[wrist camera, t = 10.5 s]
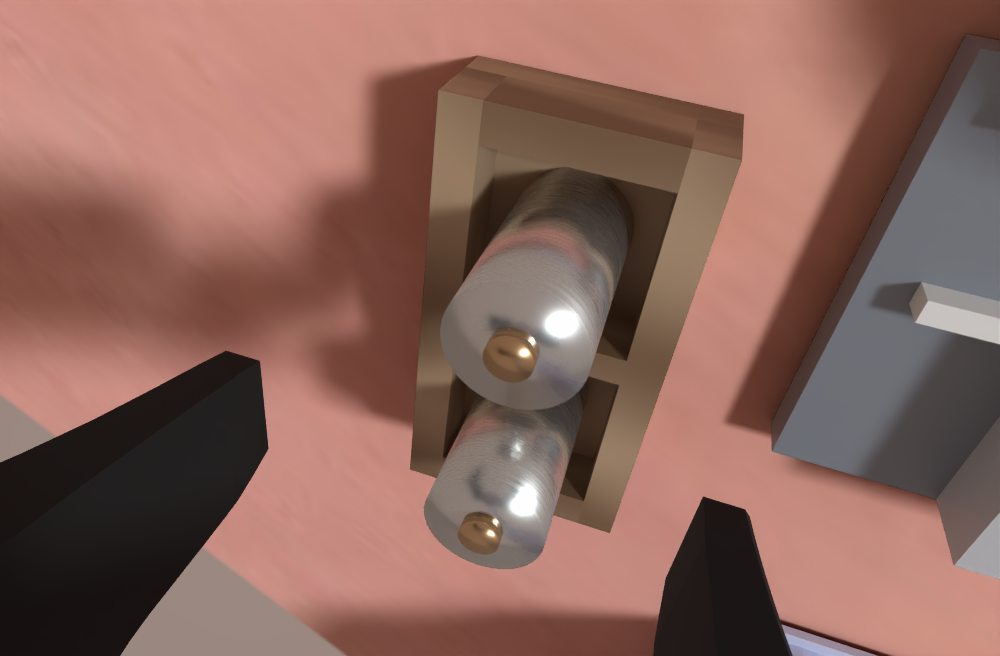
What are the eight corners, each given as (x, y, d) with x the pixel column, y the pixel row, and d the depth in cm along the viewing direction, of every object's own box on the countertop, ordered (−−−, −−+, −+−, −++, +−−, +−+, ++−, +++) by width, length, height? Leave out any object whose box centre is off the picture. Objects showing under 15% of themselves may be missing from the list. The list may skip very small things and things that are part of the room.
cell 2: (578, 434, 22) (530, 597, 17) (485, 406, 22) (414, 558, 18) (597, 359, 20) (550, 519, 16) (496, 331, 21) (420, 478, 16)
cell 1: (618, 288, 19) (570, 440, 14) (508, 258, 19) (427, 397, 14) (646, 183, 17) (603, 319, 12) (525, 154, 17) (439, 273, 13)
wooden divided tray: (623, 466, 24) (609, 533, 21) (441, 411, 25) (410, 469, 22) (743, 114, 16) (742, 160, 14) (478, 55, 17) (438, 89, 15)
